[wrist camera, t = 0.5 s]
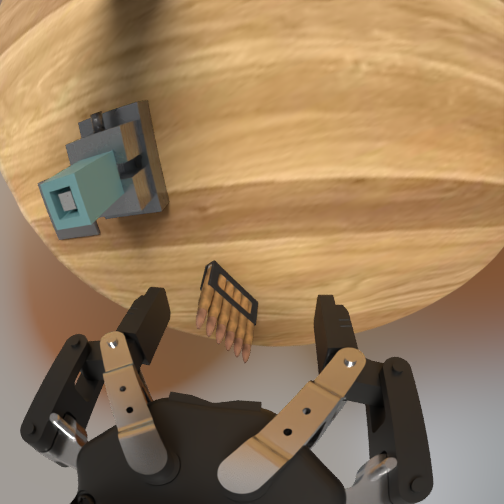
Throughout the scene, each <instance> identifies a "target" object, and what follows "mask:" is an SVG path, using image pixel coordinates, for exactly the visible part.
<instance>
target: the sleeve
mask: <svg viewBox="0 0 504 504" xmlns="http://www.w3.org/2000/svg"><path fill="white" fill-rule="evenodd" d="M40 186H41V189H42V192H43V195H44V198H45V200H46V203H47V206H48V209H49V211H50V214H51V216H52V219H53V221H54V224H55V226H56V229H57V230H61V229H67V228H73V227H79V226H85V225H92V224H93V223H94V222H95V221H96V220H97V219H98V218H99V217H100V216H101V215H102V214H103V213H104V212H105V211H106V210H107V209H108V208H109V207H110V206H111V205H112V204H113V203H114V202H115V201H116V200H118V199H119V198H120V197H121V196H122V195H123V194H124V190H123V187H122V183H121V180H120V176H119V173H118V169H117V165H116V161H115V157H114V153H113V151H110V152H106V153H103V154H99V155H96V156H93V157H90V158H86V159H83V160H80V161H78V162H76V163H75V164H73V165H71V166H69V167H68V168H66V169H64V170H63V171H61V172H59V173H58V174H56V175H54V176H53V177H51V178H50V179H48V180H47V181H45V182H43V183H42V184H40ZM69 186H70V189H71V192H72V195H73V198H74V200H75V203H76V206H77V209H73V210H68V211H64V210H63V207H62V204H61V201H60V199H59V196H58V194H59V193H61V192H62V191H64V190H65V189H66V188H68V187H69Z"/></svg>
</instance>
